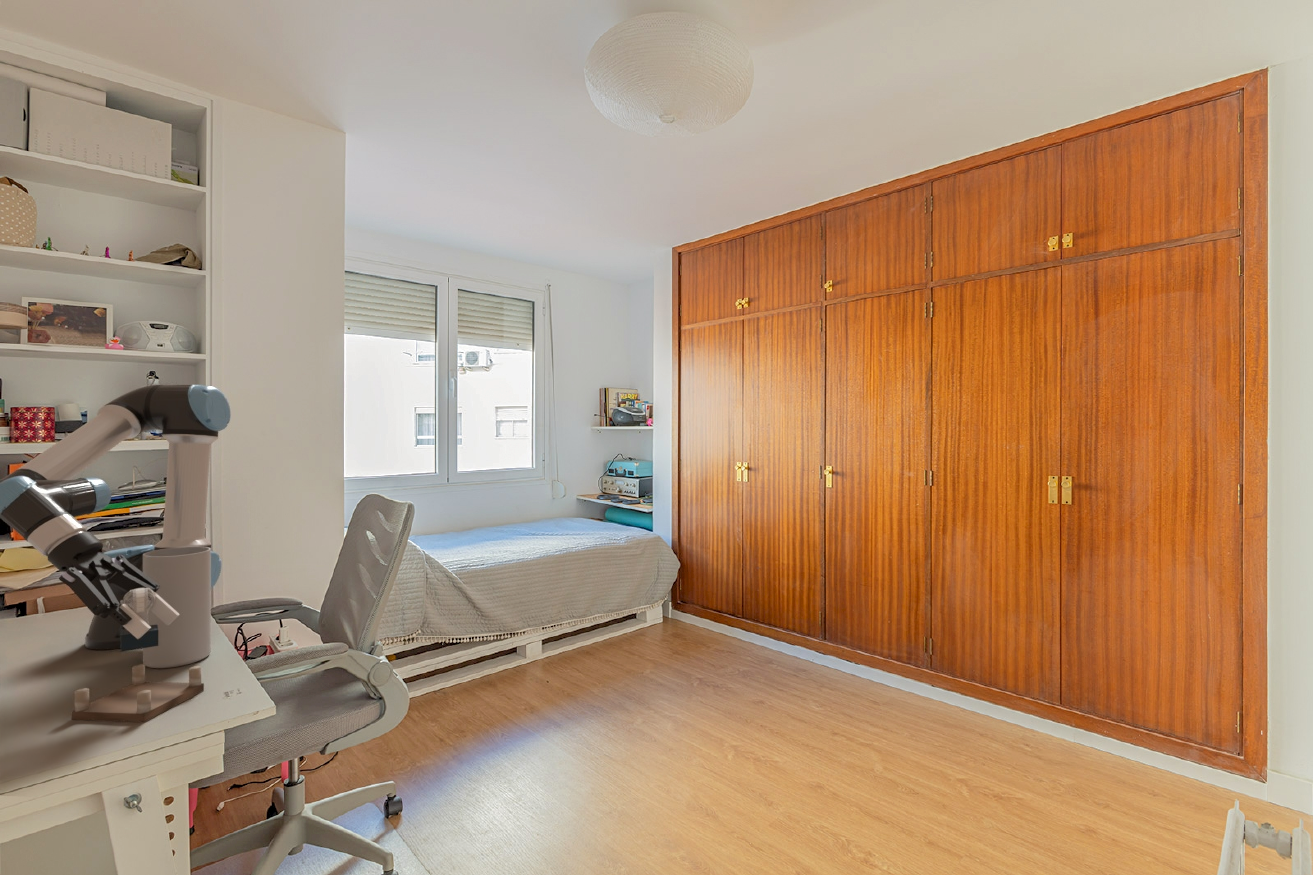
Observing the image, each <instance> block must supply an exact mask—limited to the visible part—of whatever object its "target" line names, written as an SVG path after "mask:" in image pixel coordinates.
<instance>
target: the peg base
mask: <svg viewBox="0 0 1313 875" xmlns="http://www.w3.org/2000/svg"><path fill="white" fill-rule="evenodd" d="M131 669H132V670H131V674H132V675H131V678H132V679H131V680H132V681H131V684H130V685H127V686H125V687H123V688H119V690H116V691H113V692H112V693H109V694H107V695H105V696H103V697H100V698H98V699H96V700H93V701H91V702H90V688H89V687H84V688H79V689H77V690H75V691H74V709H73V710H72V711H71V715H70V716H71V720H73V721H74V720H75V721H102V722H103V721H105V722H129V723H131V722H133V723H134V722H135V723H146V722H147V721H149V720H152V719H154V718H155V717H157V716H158V715H161V714H163V713H164V712H167V711H168V710H171V709H172V708H174V707H176V706H179V704H182V703H184V702H185V701H187V700H188V699H191V698H192V697H195V696H197V695H198V694H200V693H202V692H204V690H205V688H204V687H205V683H204V682H202V665H201V666H200V665H196V666H191V667H189V669H188V682H176V681H175V682H174V681H171V682H170V681H169V682H168V681H146V666H145V665H144V664H143V663H142V664H137V665H133V666H132V668H131Z"/></svg>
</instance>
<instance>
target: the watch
mask: <svg viewBox="0 0 1313 875" xmlns="http://www.w3.org/2000/svg"><path fill="white" fill-rule="evenodd" d="M154 601H155V592H154V591H153V590H151V589H150V588H137V589H133V590H130V591H129V592H128V593H126V594H125V596H124V598H123V600H121V601H120V603H121V604H123V603H124V604H126V605H127V606H128V607H129V608H130V609H131V610H133V611H134V612H135V613H136V614H137V615H138V616H139V617H140V618H141V619H143V620H144V621H145V622H146V623H147V624H148V623H149V621H148V611H150V609H151V606H152V605H153V603H154ZM150 627H151V628H150V629H149V630H148V631H147V632H146V633H145V634H144V635H143V636H142V637H141V638H139V639H137V638H136V637H135V636H133V635H132V634H131V633H130V632H129V631H128V630H127V629H122V630H121V648H120V652H121V653H123V652H127V651H134V650H141V649H142V650H143V648H148V647H154V646H158V625H157V624H156V625H150Z"/></svg>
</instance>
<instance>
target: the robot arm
mask: <svg viewBox="0 0 1313 875" xmlns="http://www.w3.org/2000/svg"><path fill="white" fill-rule="evenodd" d="M231 414H232V413H231V408H230V403H229V402H228V399H227V397H225V394H224V393H223V392H222V391H221V390H220V389H218V388H217V387H215V386H212V385H211V386H210V385H205V384H204V385H203V384H150V385H146V386H142V387H138V388H136V389H133V390H131V391H129V392H126V393H124V394H122V395H120V396H118V397H116V398H115V399H113V400H111V401H109V402H108V403H106V404H105V405H103V406H102V407H100V408H99V409H98V411H97V413H96V416H95V417H93V418H92V419H90V420H89V421H88V422H86V423H84V424H83V425H82V426H80V427H79V428H77V429H75V430H74V431H72V432H71V433H69V434H68V435H67V436H65V437H63V438H62V439H60V440H59V441H58V442H56V443H55V444H53V445H51V446H50V447H49V448H47V449H46V450H44V451H43V452H41V453H40V454H38V455H36V456H35V457H33V458H32V459H31V460H29V461H28V462H26V463H24V464H23V465H22V466H20V467H18V468H16V470H14V471H12V472H11V473H9V474H8V475H6V476H5V477H3V478H1V479H0V519H1V520H2V521H3V522H5V524H6V525H8V526H9V527H11V529H13V530H14V531H15V532H17V534H18V535H20V536H21V537H22V538H23V539H24V540H25V541H26V542H28V543H29V544H30V545H31V546H32V547H33V548H34V549H35V550H36V551H38V552H39V554H41V556H43V557H47V561H48V562H49V563H51V565H53V566H54V567H55V568H56V569H57V570H58V571H60V572H63V573H62V574H61V575H60V576H58V579H59V581H60V582H62V583H64V584H65V585H66V586H68V587H69V588H70V589H71V591H73V593H74V594H75V595H76V597H78V598H79V599H80V600H81V602H82V603H83V604H84V605H85V607H87V609H88V610H89V611H90V612H91V613H92V614H93V617H92V620H91V622H90V625H89V628H88V632H87V633H86V634H85V637H84V639H85V640H84V643H85V644H84V645H85V646H84V647H85V648H86V649H89V650H98V651H99V650H100V651H101V650H104V651H105V650H114V649H115V650H116V649H121V630H122V629H127V630H128V631H129V632H130V633H131V634H132V635H133V636H135V637H136V638H137V639H139V638H141V637H142V636H143V635H144V634H145V633H146V632H147V631H148V630H149V629H150V628H151V627H150V626H149V625H148V624H147V623H146V622H145V621H144V620H143V619H141V618H140V617H139V616H138V615H137V614H136V613H135V612H134V611H133V610H131V609H130V608H129V607H128V606H127V605H126V604H124V603H123V604H121V603H120V601H121V600H123V598H124V596H125V594H126V593H128V592H129V591H130V590H133V589H137V588H150V589H151V590H153V591H154V592H155V601H154V603H153V605H152V606H151V609H150V610H151V611H152V612H153V613H154V614H155V615H156V616H157V617H158V618H160V619H161V620H162V621H163V622H164V623H165V624H166V625H169V624H170V623H171V622H172V621H173V620H175V619H176V618H177V617H178V616H179V615H180V614H179V613H178V612H177V611H176V610H174V609H173V608H172V607H171V606H170V605H169V604H168V603H167V602H166V601H165V600H163V599H162V598H161V597H160V596H159V595H158V594H157V593H156V591H157V590H159V589H160V588H159V587H160V585H159V584H158V583H156V582H155V581H154V580H152V579H151V578H150V577H148V576H147V575H146V574H144V573H143V554H144V553H146V552H150V551H154V550H160V549H167V548H177V547H209V548H211V549H212V543H211V541H209V540H208V539H207V538H206V521H207V506H208V505H207V504H208V492H209V491H208V490H209V489H208V488H209V476H210V474H209V473H210V461H211V460H210V458H211V445H212V444H213V443H214V442H215V441H218V438H219V432H220V431H223V430H226V428H227V427H228V425H229V423H230V421H231ZM157 430H159V431H162V432H161V436H162V437H163V439H165V440H166V441H167V443H168V454H167V470H166V472H167V473H166V482H165V484H166V486H165V498H164V511H163V512H164V513H163V528H162V538H161V540H159V541H158V542H157V543H155V544H145V545H136V546H130V547H124V548H118V549H113V550H108V551H105V552H103V548H104V543H103V542H102V541H101V540H100V539H99V538H98V537H96V536H95V535H94V534H93V533H92V532H90V531H88V530H87V529H88V528H87V527H86V526H85V525H83V524H82V523H81V522H80V521H79V520H77V519H76V518H77V517H83V516H88V515H89V516H90V515H91V514H93V513H96V512H99V511H102V510H103V509H105V508H107V506H109V504H110V502H111V500H112V491H111V488H110V486H109V485H108V483H106V481H105V480H104V479H101V478H99V477H94V476H93V477H92V476H90V477H89V476H88V477H78V478H77V479H73V478H74V477H76V476H77V475H79V474H80V473H81V472H82V471H84V470H85V469H86V468H88V467H89V466H91V465H92V464H93V463H94V462H96V461H97V460H99V459H100V458H101V457H103V456H104V455H105V454H107V453H108V452H109V451H111V450H112V449H113V448H115V447H116V446H118V445H119V444H121V443H122V442H123V441H124V440H130V439H131V440H132V439H134V438H136V437H137V436H138V435H140V434H143V433H145V432H149V431H157ZM221 570H222V559H221V558H220V556H219V554H218V553H217V552H215V551H212V550H211V590H213V588H214V587H215V586H216V584H217V582H218V580H219V578H220V575H221Z"/></svg>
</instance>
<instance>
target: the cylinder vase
mask: <svg viewBox="0 0 1313 875" xmlns="http://www.w3.org/2000/svg"><path fill="white" fill-rule="evenodd" d="M211 551H212V547H211V548H209V547H177V548H167V549H160V550H154V551H150V552H146V553H144V554H143V573H144V574H146V575H147V576H148V577H150V578H151V579H152V580H154V581H155V582H156V583H158V584H159V585H160V587H159V588H160V589H159V590H157V591H156V593H157V594H158V595H159V596H160V597H161V598H162V599H163V600H165V601H166V602H167V603H168V604H169V605H170V606H171V607H172V608H173V609H174V610H176V611H177V612H178V613H179V614H180V615H179V616H178V617H177V618H176V619H175V620H173V621H172V622H171V623H170V624H169V625H166V624H165V623H164V622H163V621H162V620H161V619H160V618H158V617H157V616H156V615H155V614H154V613H153V612H152V611H151V610H150V611H148V621H149V623H148V625H149V626H150V625H156V624H157V625H158V646H154V647H148V648H142V664H144V665H145V667H148V668H151V669H169V668H177V667H183V666H187V665H191V664H194V663H196V662H199V661H202V660H204V659H206V658H207V657H208V656H209V655H210V654H211V650H212V646H211V645H212V638H211V637H212V628H211V627H212V625H211V623H212V620H211V619H212V612H211V611H212V610H211V609H212V604H211V603H212V596H211V595H212V594H211V593H212V592H211V591H212V589H211Z"/></svg>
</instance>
